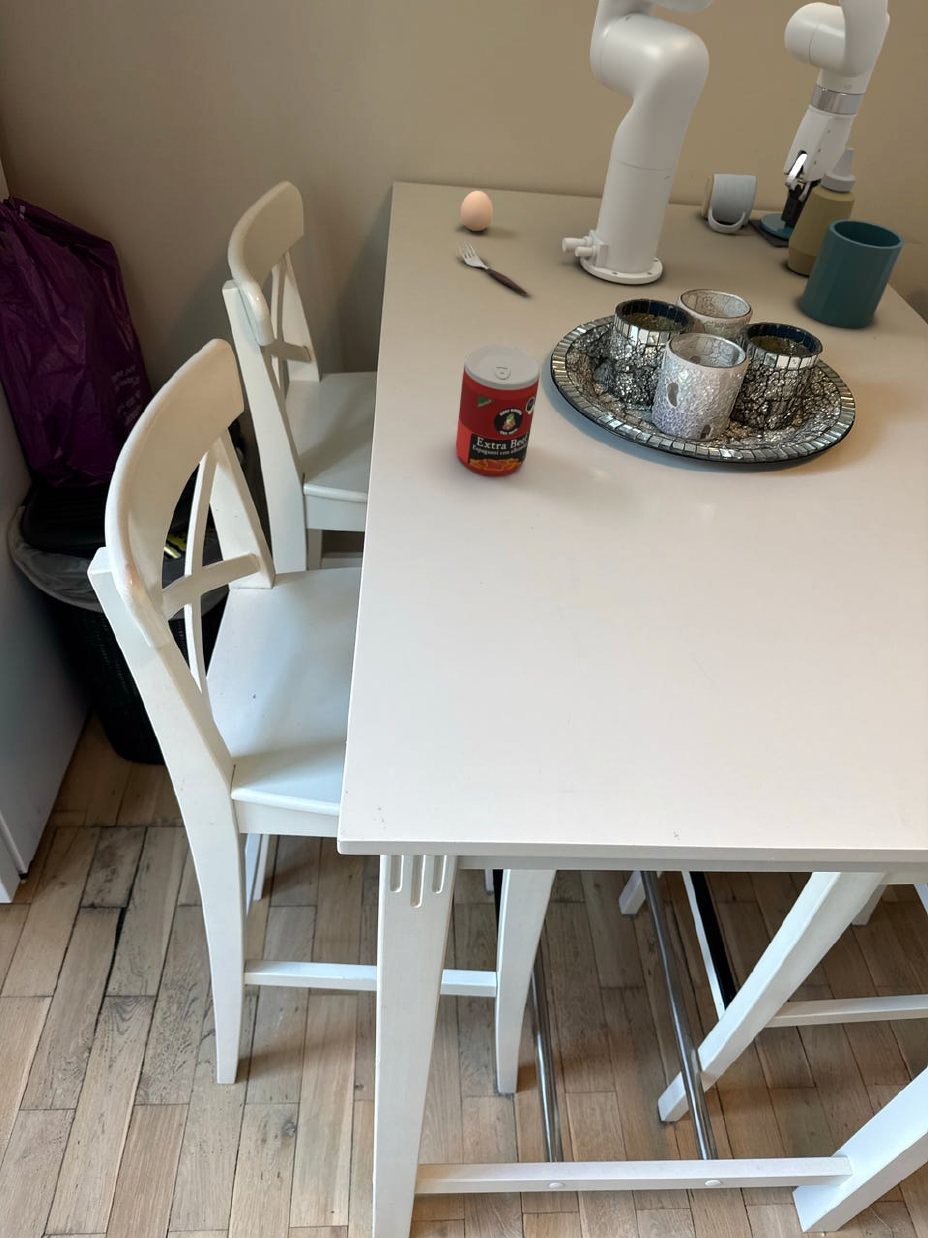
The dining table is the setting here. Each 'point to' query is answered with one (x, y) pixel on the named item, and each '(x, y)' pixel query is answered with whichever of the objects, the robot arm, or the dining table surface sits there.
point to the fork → (478, 263)
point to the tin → (851, 273)
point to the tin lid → (778, 224)
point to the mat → (769, 235)
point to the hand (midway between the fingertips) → (795, 219)
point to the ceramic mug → (728, 200)
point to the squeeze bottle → (822, 214)
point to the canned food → (496, 409)
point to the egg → (476, 211)
